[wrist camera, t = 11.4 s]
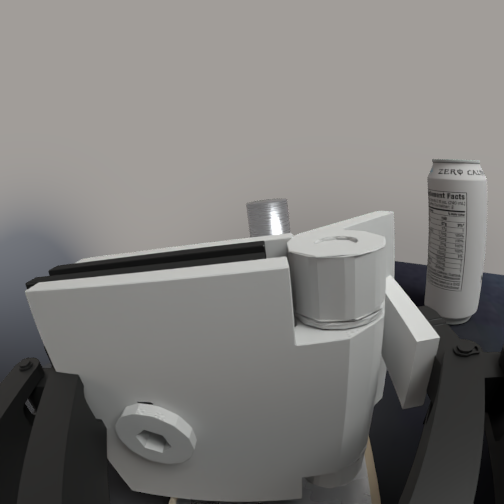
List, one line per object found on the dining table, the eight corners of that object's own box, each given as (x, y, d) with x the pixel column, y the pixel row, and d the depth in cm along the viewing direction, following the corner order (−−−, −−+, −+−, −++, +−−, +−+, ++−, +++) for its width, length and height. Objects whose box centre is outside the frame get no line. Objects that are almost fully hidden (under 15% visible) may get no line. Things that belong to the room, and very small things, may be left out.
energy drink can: (486, 318, 22) (497, 161, 18) (442, 333, 22) (451, 159, 18) (455, 296, 28) (459, 160, 24) (413, 306, 28) (414, 159, 24)
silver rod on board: (343, 355, 21) (339, 193, 18) (376, 570, 5) (544, 332, 2) (226, 361, 22) (199, 207, 19) (157, 561, 6) (-36, 340, 3)
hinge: (375, 390, 14) (384, 209, 12) (426, 452, 9) (480, 231, 7) (127, 441, 12) (53, 262, 10) (117, 522, 7) (-24, 318, 5)
